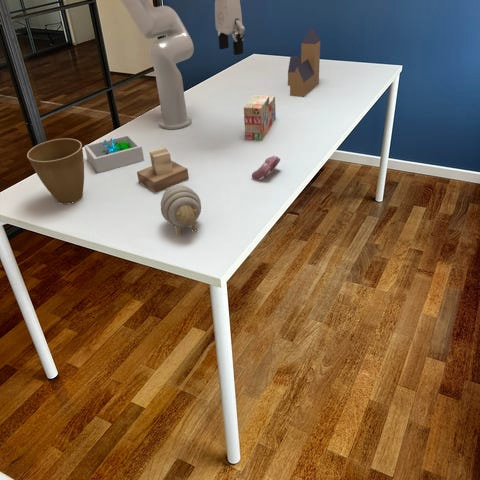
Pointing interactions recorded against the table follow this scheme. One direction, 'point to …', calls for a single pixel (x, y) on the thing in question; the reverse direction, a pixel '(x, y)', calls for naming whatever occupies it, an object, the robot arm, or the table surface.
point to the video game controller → (266, 167)
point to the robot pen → (113, 154)
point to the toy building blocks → (305, 66)
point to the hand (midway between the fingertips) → (231, 51)
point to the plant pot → (60, 168)
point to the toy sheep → (180, 207)
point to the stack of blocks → (259, 116)
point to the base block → (162, 177)
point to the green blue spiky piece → (116, 147)
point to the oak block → (161, 161)
